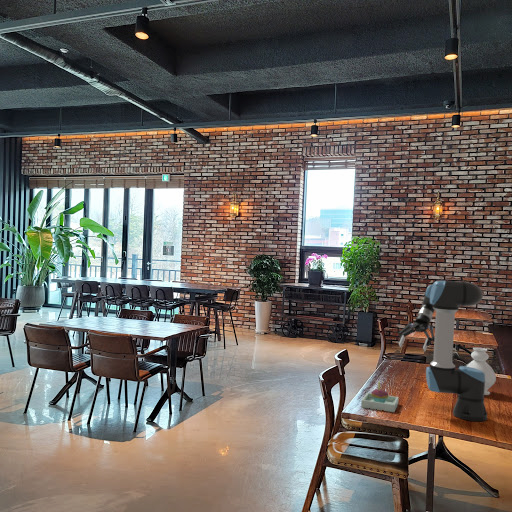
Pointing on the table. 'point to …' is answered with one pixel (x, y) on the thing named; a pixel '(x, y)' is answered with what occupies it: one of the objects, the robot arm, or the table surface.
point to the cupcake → (379, 394)
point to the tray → (388, 405)
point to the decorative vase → (483, 367)
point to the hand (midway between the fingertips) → (411, 347)
